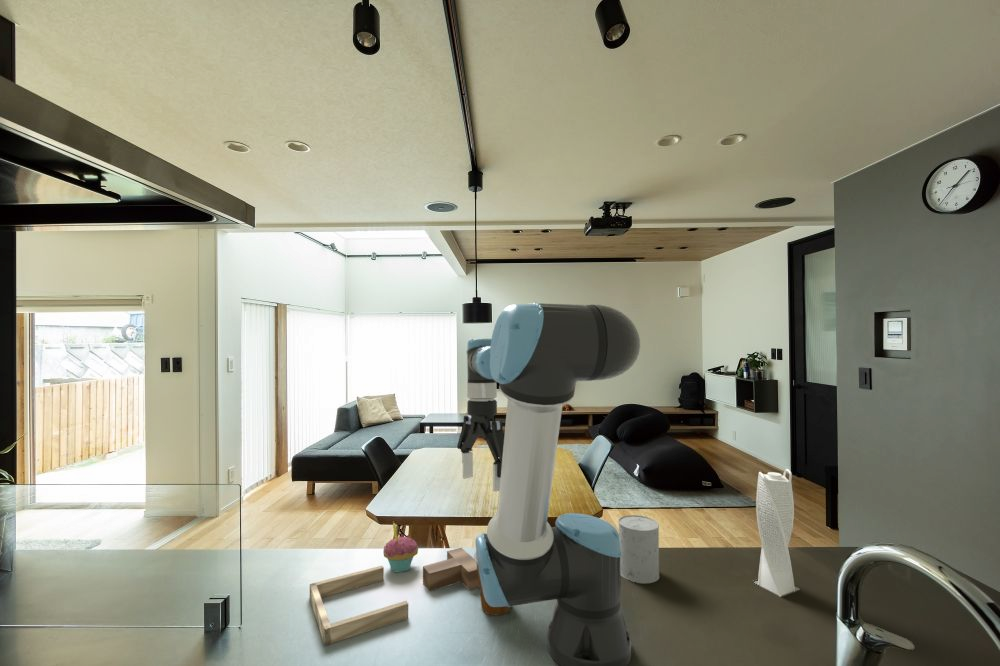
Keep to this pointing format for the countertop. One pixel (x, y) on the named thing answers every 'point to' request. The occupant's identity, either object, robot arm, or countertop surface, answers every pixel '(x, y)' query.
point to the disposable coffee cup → (484, 604)
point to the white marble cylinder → (639, 548)
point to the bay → (357, 623)
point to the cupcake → (400, 552)
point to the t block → (451, 571)
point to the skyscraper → (775, 532)
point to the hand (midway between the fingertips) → (482, 483)
